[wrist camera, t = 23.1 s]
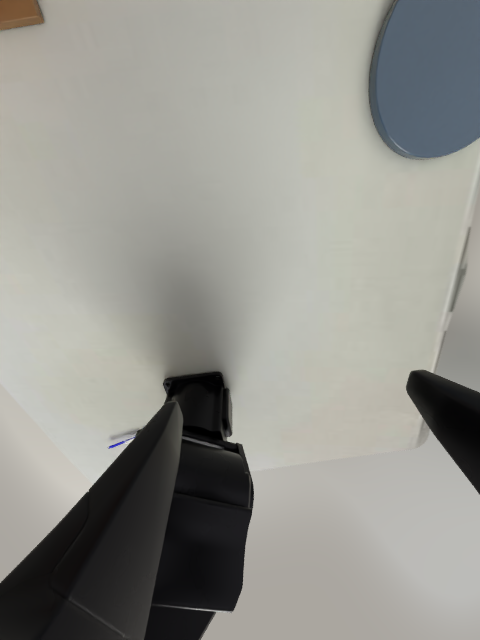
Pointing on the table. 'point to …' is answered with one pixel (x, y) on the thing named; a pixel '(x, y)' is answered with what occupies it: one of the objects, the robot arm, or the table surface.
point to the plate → (427, 77)
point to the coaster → (19, 13)
